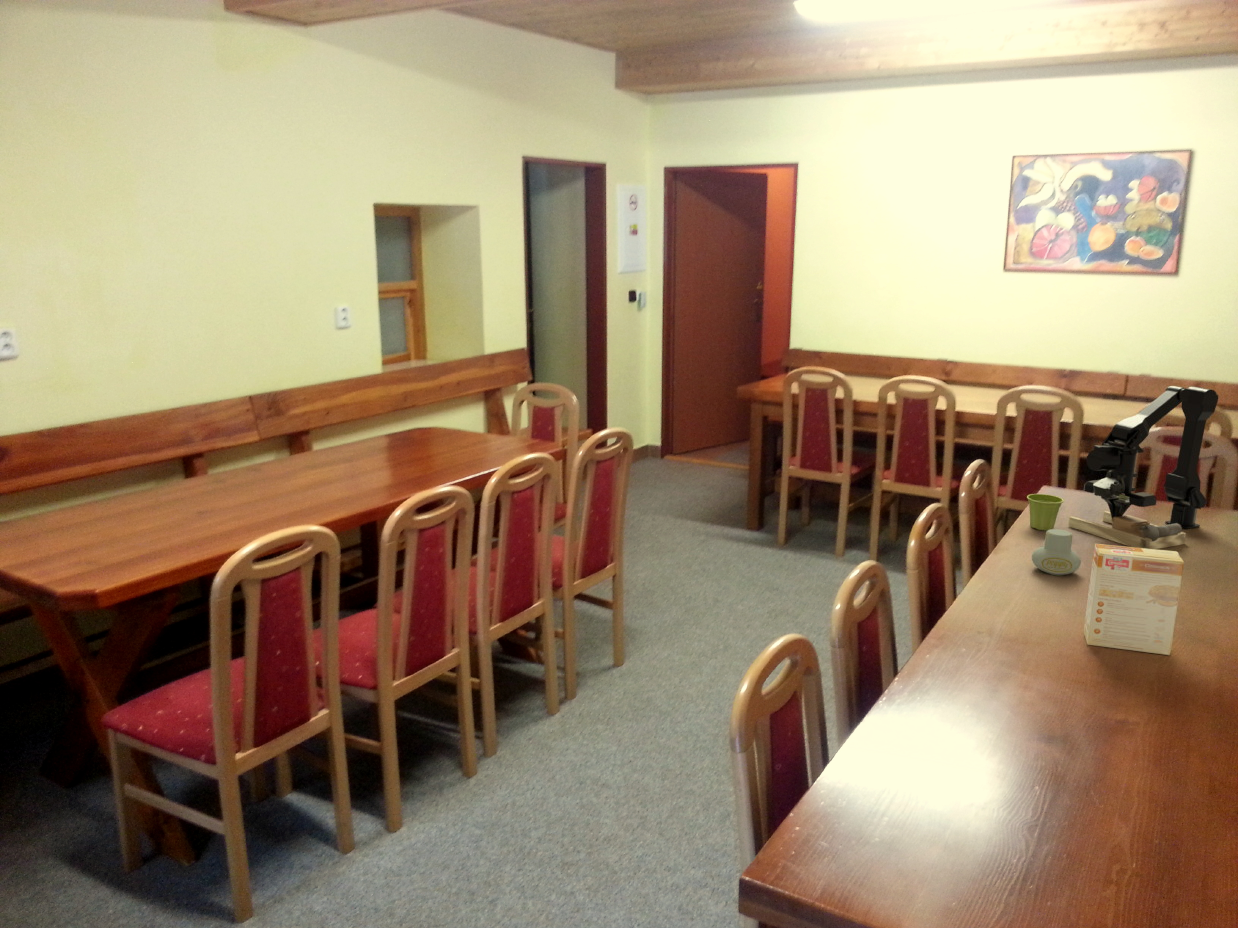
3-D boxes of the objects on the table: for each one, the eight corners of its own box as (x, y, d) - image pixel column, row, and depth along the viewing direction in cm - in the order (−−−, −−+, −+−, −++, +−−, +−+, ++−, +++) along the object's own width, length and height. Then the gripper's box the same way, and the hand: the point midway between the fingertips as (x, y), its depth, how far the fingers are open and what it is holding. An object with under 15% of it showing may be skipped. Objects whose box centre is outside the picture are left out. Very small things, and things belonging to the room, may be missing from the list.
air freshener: (1030, 573, 232) (1035, 534, 230) (1030, 563, 240) (1034, 525, 238) (1080, 579, 228) (1085, 539, 226) (1078, 569, 236) (1083, 530, 234)
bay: (1106, 520, 278) (1109, 498, 277) (1189, 545, 256) (1192, 521, 254) (1068, 526, 272) (1071, 503, 270) (1149, 552, 249) (1153, 528, 248)
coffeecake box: (1163, 642, 193) (1177, 550, 189) (1170, 656, 186) (1185, 561, 182) (1082, 631, 198) (1094, 542, 193) (1086, 645, 191) (1098, 552, 187)
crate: (1125, 531, 267) (1128, 514, 266) (1147, 538, 261) (1150, 521, 260) (1109, 534, 265) (1111, 516, 264) (1131, 541, 259) (1133, 523, 257)
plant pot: (1063, 533, 265) (1067, 503, 263) (1027, 531, 266) (1030, 501, 264) (1055, 524, 274) (1059, 494, 272) (1020, 521, 275) (1024, 492, 273)
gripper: (1073, 463, 268) (1066, 517, 272) (1133, 479, 251) (1124, 535, 255) (1101, 460, 272) (1094, 512, 276) (1161, 475, 256) (1153, 531, 260)
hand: (1115, 522), depth 267 cm, fingers closed
